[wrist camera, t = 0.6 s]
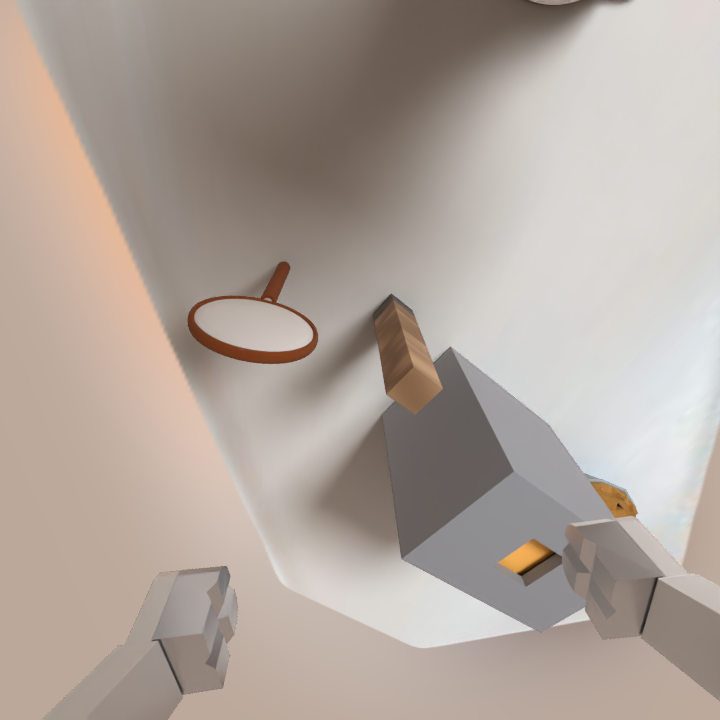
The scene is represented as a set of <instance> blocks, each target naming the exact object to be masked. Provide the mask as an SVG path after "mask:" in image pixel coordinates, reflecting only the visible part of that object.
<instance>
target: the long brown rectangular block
mask: <svg viewBox="0 0 720 720" xmlns="http://www.w3.org/2000/svg"><path fill="white" fill-rule="evenodd" d="M373 316H374V322H375V328H376V334H377V340H378V347H379V353H380V359H381V365H382V371H383V378H384V384H385V390H386V395H388V396H389V397H391V398H392V399H394V400H395V401H396V402H398V403H399V404H401V405H402V406H404V407H405V408H407V409H408V410H409V411H411V412H412V413H414V414H415V415H416V414H417V413H418V412H419V411H420V410H421V409H422V408H423V407H424V406H425V405H426V404H427V403H428V402H430V401H431V400H432V399H433V398H434V397H435V396H436V395H437V394H438V393H439V392H440V391H441V390H442V389H443V388H442V385H441V383H440V380H439V377H438V375H437V372H436V370H435V367H434V365H433V362H432V360H431V357H430V355H429V352H428V349H427V347H426V344H425V342H424V339H423V337H422V334H421V332H420V329H419V327H418V324H417V321H416V319H415V316H414V314H413V311H412V310H411V309H410V308H409V307H407V306H406V305H405V304H404V303H402V302H401V301H400V300H399V299H397V298H396V297H395V296H394V295H393V294H391V295H390V296H389V297H388V298H387V299H386V300H385V301H384V303H383V304H382V305H381V306H380V307H379V308H378V309H377V311H376V312H375V313H374V314H373Z"/></svg>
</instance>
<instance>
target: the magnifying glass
mask: <svg viewBox="0 0 720 720" xmlns="http://www.w3.org/2000/svg"><path fill="white" fill-rule="evenodd" d="M289 270H290V266H289V264H288V263H287V262H281V263H279V265H278V267H277V269H276V270H275V272H274V274H273V276H272V278H271V280H270V282H269V284H268V286H267V287H266V289H265V291H264V293H263V295H262V297H261V299H260V298H254V297H246V296H221V297H214V298H210V299H206V300H203V301H201V302H199V303H197V304H196V305H195V306H194V307H193V308H192V309H191V311H190V312H189V315H188V327H189V330H190V332H191V334H192V335H193V337H194V338H195V339H196V340H197V341H198V342H200V343H201V344H202V345H204V346H205V347H207V348H209V349H210V350H212V351H214V352H217V353H219V354H221V355H224V356H227V357H230V358H234V359H237V360H241V361H247V362H253V363H263V364H280V363H288V362H293V361H297V360H300V359H302V358H305V357H306V356H308V355H309V354H310V353H311V352H312V351H313V350H314V349H315V347H316V345H317V342H318V333H317V329H316V327H315V326H314V324H313V323H312V322H311V321H310V320H309V319H308V318H306V317H305V316H304V315H302V314H301V313H299V312H297V311H295V310H293V309H291V308H289V307H287V306H284V305H282V304H279V303H276V301H277V299H278V296H279V294H280V292H281V289H282V287H283V285H284V282H285V280H286V277H287V275H288V273H289Z"/></svg>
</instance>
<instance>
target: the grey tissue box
mask: <svg viewBox="0 0 720 720" xmlns="http://www.w3.org/2000/svg"><path fill="white" fill-rule="evenodd" d="M433 365H434V367H435V370H436V372H437V375H438V377H439V380H440V383H441V385H442V388H443V389H442V390H441V391H440V392H439V393H438V394H437V395H436V396H435V397H434V398H433V399H432V400H431V401H430V402H428V403H427V404H426V405H425V406H424V407H423V408H422V409H421V410H420V411H419V412H418V413H417V414H416V415H415V414H414V413H412V412H411V411H409V410H408V409H407V408H405V407H404V406H402V405H401V404H399V403H398V402H396V401H395V402H394V403H393V404H392V405H391V406H390V407H389V408H388V409H387V410H386V411H385V412H384V413H383V414H382V417H383V425H384V432H385V440H386V447H387V454H388V462H389V469H390V477H391V484H392V492H393V499H394V506H395V514H396V521H397V529H398V536H399V544H400V551H401V558H402V560H404V561H406V562H408V563H410V564H412V565H414V566H416V567H418V568H419V569H421V570H423V571H425V572H427V573H429V574H431V575H433V576H435V577H436V578H438V579H440V580H442V581H444V582H446V583H448V584H450V585H452V586H453V587H455V588H457V589H459V590H461V591H463V592H465V593H467V594H469V595H470V596H472V597H474V598H476V599H478V600H480V601H482V602H484V603H486V604H488V605H489V606H491V607H493V608H495V609H497V610H499V611H501V612H503V613H505V614H506V615H508V616H510V617H512V618H514V619H516V620H518V621H520V622H522V623H523V624H525V625H527V626H529V627H531V628H533V629H535V630H537V631H539V632H543V631H544V630H546V629H548V628H550V627H551V626H553V625H555V624H556V623H558V622H560V621H562V620H563V619H565V618H567V617H568V616H570V615H572V614H574V613H575V612H577V611H579V610H580V609H582V608H584V607H585V606H586V600H585V599H583V598H582V597H580V596H579V595H578V594H576V593H575V592H574V591H573V589H572V588H571V586H570V584H569V583H568V580H567V578H566V575H565V573H564V569H563V564H562V552H563V549H564V548H565V547H566V546H567V544H568V543H569V542H568V540H567V538H566V537H565V531H566V527H567V526H568V525H569V524H571V523H579V522H586V521H594V520H601V519H611V518H615V517H614V515H613V514H612V513H611V511H610V510H609V508H608V507H607V506H606V504H605V503H604V501H603V500H602V499H601V497H600V496H599V494H598V493H597V492H596V490H595V489H594V487H593V486H592V485H591V483H590V482H589V480H588V479H587V478H586V476H585V475H584V473H583V472H582V471H581V469H580V468H579V466H578V465H577V464H576V462H575V461H574V459H573V458H572V457H571V455H570V454H569V452H568V451H567V450H566V448H565V447H564V445H563V444H562V443H561V441H560V440H559V438H558V437H557V436H556V434H555V433H554V431H553V430H552V429H551V427H550V426H549V425H548V424H547V423H546V422H545V421H543V420H542V419H541V418H540V417H538V416H537V415H536V414H535V413H533V412H532V411H531V410H530V409H528V408H527V407H526V406H524V405H523V404H522V403H521V402H519V401H518V400H517V399H516V398H514V397H513V396H512V395H511V394H509V393H508V392H507V391H506V390H504V389H503V388H502V387H501V386H499V385H498V384H497V383H496V382H494V381H493V380H492V379H491V378H489V377H488V376H487V375H486V374H484V373H483V372H482V371H481V370H479V369H478V368H477V367H475V366H474V365H473V364H472V363H470V362H469V361H468V360H467V359H465V358H464V357H463V356H462V355H460V354H459V353H458V352H457V351H455V350H454V349H453V348H452V347H450V348H449V349H448V350H447V351H446V352H445V353H444V354H443V355H442V356H441V357H440V358H439V359H438V360H437V361H436V362H435V363H434V364H433ZM533 538H534V539H535V540H537V541H538V542H540V543H541V544H543V545H545V546H546V547H548V548H549V549H551V550H552V551H554V552H555V553H554V554H552V555H551V556H549V557H548V558H546V559H544V560H543V561H541V562H540V563H538V564H537V565H535V566H534V567H532V568H531V569H529V570H528V571H526V572H525V573H523V574H522V575H518V574H517V573H515V572H513V571H511V570H510V569H508V568H506V567H505V566H503V565H501V564H499V563H498V562H500V561H501V560H502V559H504V558H505V557H507V556H508V555H510V554H511V553H513V552H514V551H515V550H517V549H518V548H520V547H521V546H523V545H524V544H526V543H527V542H529V541H530V540H531V539H533Z"/></svg>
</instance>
